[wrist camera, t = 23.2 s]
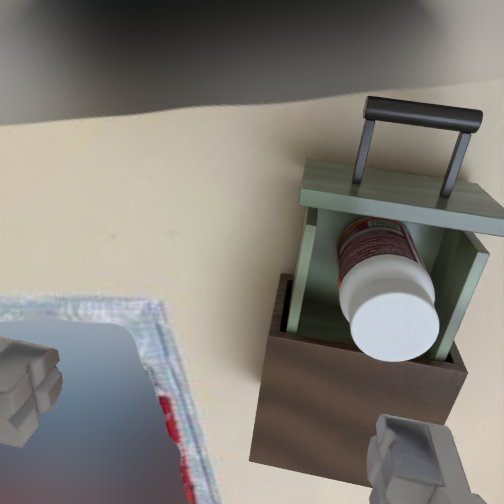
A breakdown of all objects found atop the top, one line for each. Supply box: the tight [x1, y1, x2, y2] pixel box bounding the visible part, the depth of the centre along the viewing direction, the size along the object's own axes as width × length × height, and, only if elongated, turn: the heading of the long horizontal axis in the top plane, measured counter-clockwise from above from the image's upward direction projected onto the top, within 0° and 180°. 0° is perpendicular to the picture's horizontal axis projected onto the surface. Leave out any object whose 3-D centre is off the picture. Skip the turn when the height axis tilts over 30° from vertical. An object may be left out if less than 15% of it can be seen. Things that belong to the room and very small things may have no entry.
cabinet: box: [249, 274, 468, 488], centre depth 38 cm, size 15×15×10 cm
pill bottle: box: [337, 216, 439, 362], centre depth 30 cm, size 6×6×11 cm
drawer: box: [286, 96, 504, 362], centre depth 31 cm, size 19×13×8 cm
